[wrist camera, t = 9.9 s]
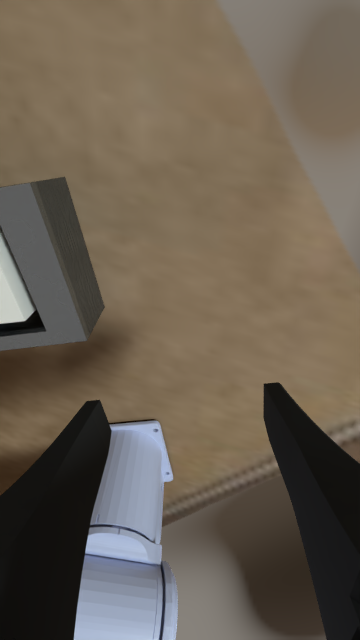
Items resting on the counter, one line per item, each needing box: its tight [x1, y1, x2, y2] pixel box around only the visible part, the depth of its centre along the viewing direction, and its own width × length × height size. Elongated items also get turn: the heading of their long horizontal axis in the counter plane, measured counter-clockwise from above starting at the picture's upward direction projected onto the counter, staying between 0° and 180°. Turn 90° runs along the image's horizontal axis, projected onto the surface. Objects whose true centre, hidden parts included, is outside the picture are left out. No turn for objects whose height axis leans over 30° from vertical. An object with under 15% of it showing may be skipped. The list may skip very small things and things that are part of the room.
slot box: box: [0, 177, 104, 351], centre depth 18 cm, size 9×8×5 cm
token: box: [0, 226, 37, 324], centre depth 18 cm, size 5×2×5 cm, turn 7°
